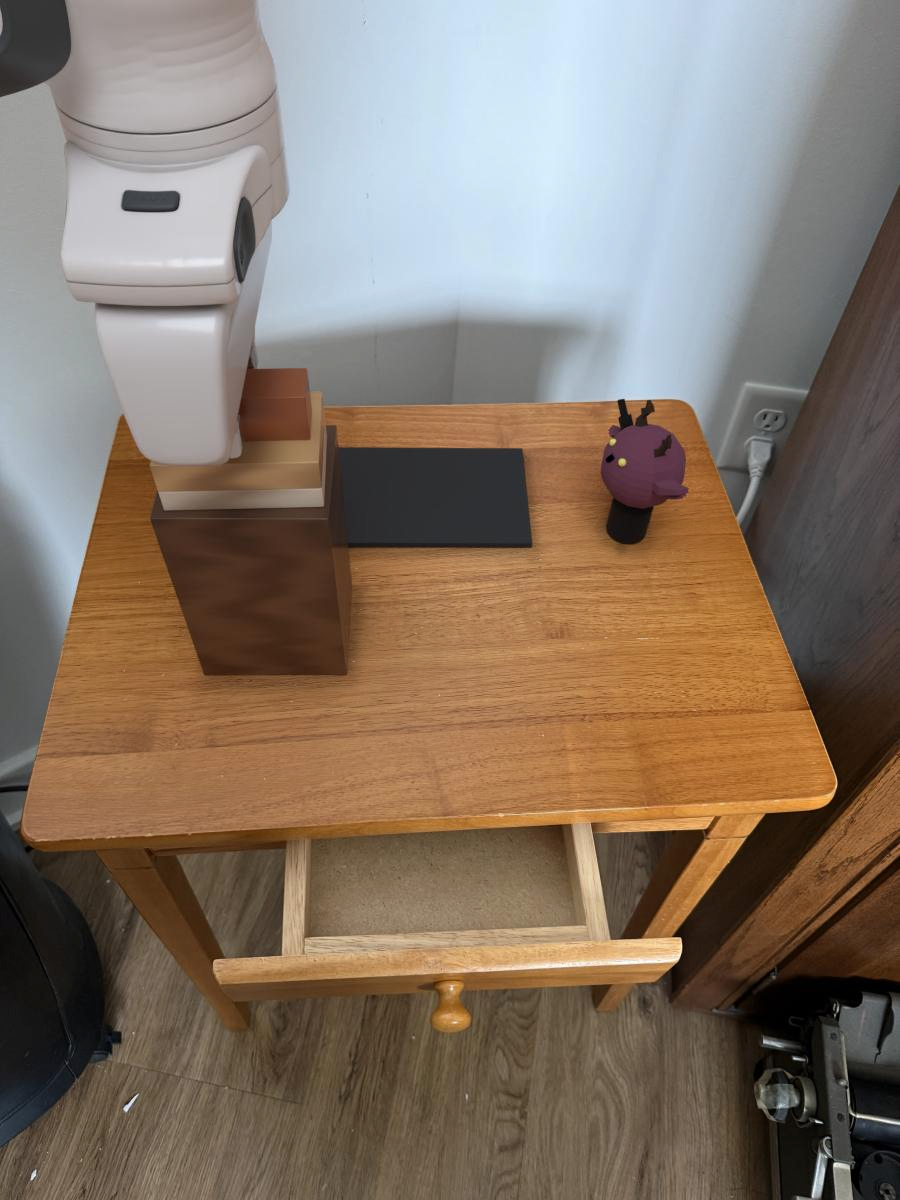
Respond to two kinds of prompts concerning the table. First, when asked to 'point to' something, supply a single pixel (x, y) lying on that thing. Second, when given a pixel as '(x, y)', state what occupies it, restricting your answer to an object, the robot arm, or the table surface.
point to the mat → (435, 497)
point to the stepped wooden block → (261, 452)
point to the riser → (264, 582)
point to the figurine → (640, 473)
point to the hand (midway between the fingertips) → (235, 410)
